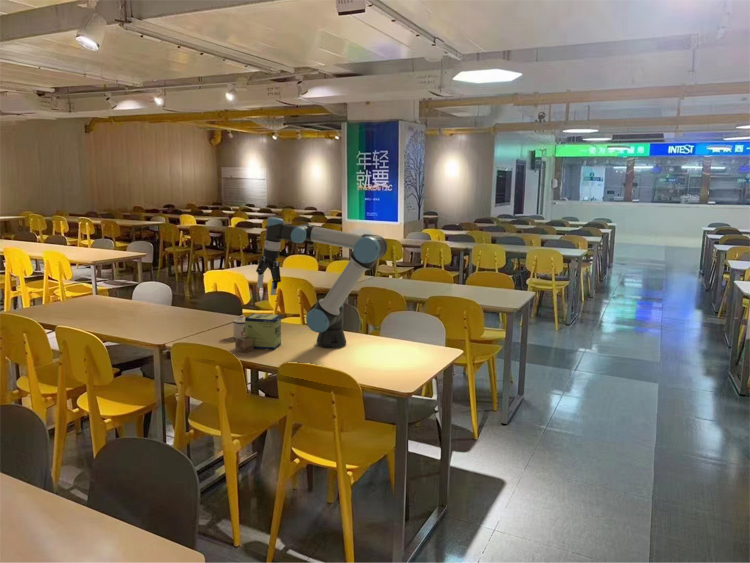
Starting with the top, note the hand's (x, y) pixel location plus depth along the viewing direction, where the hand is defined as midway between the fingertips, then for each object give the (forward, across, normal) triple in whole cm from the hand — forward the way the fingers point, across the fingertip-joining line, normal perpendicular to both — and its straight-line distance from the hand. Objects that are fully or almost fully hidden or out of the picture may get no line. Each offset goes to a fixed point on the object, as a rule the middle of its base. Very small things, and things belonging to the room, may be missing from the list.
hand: (266, 291), depth 282 cm
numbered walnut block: (+28, +6, -11) cm, 31 cm away
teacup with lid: (+30, -18, +1) cm, 35 cm away
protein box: (+28, +5, 0) cm, 28 cm away
